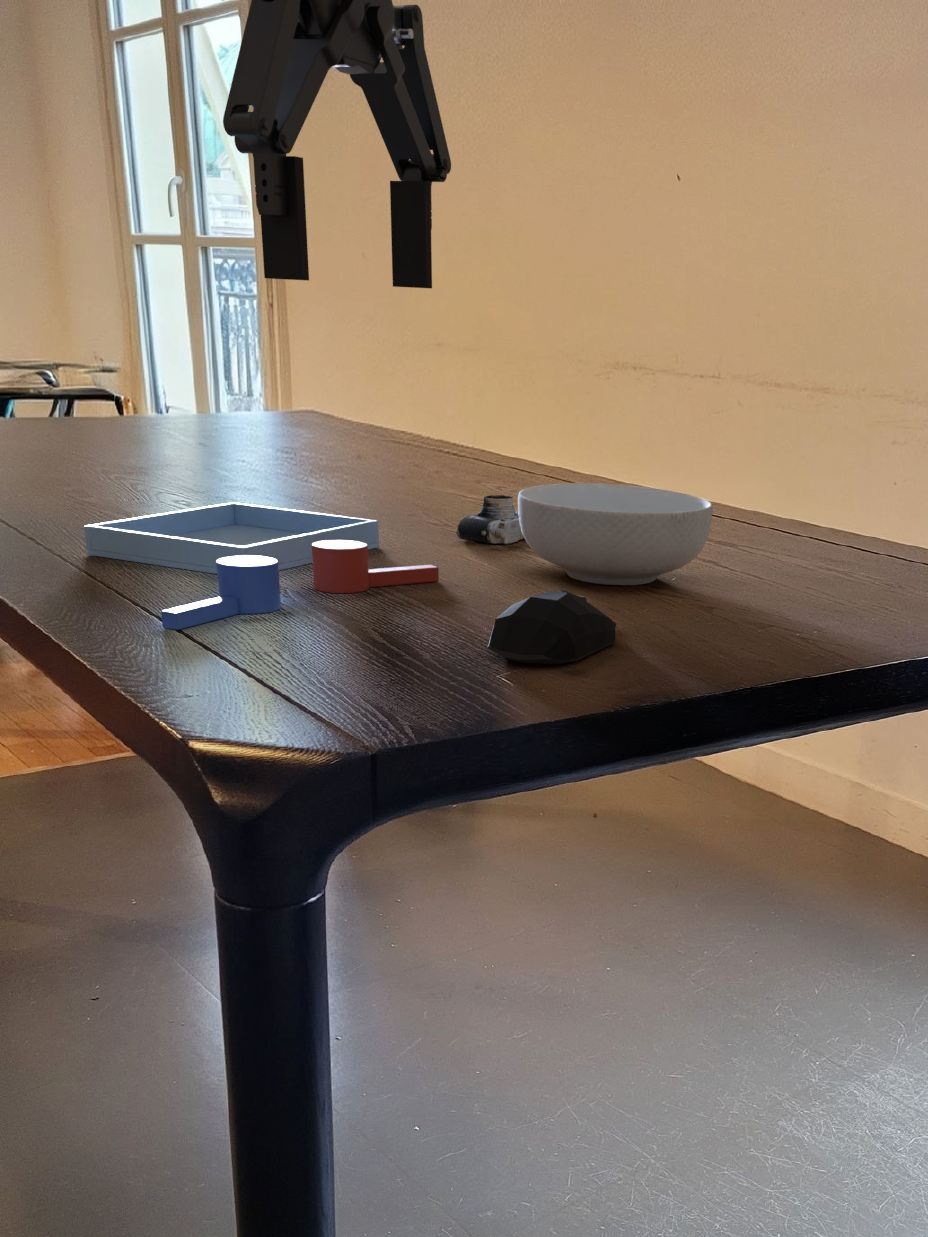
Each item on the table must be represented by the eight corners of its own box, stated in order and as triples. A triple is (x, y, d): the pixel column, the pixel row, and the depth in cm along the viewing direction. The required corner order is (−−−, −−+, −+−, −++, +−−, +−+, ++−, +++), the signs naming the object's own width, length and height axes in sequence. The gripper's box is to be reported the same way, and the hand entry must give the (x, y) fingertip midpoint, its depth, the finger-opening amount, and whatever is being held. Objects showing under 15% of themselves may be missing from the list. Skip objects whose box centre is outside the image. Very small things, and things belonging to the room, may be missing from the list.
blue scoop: (246, 599, 100) (243, 553, 99) (293, 606, 98) (290, 559, 97) (145, 624, 91) (140, 574, 89) (195, 633, 89) (190, 582, 88)
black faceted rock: (651, 632, 96) (654, 578, 94) (551, 675, 84) (552, 613, 82) (577, 620, 98) (578, 567, 97) (469, 660, 86) (469, 600, 84)
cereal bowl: (551, 599, 105) (552, 510, 102) (494, 562, 119) (494, 482, 116) (739, 593, 111) (745, 508, 108) (664, 558, 125) (668, 482, 122)
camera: (551, 534, 135) (552, 493, 133) (495, 547, 126) (496, 503, 124) (511, 528, 137) (511, 487, 135) (453, 541, 128) (452, 497, 127)
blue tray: (87, 554, 113) (83, 525, 112) (234, 527, 129) (232, 502, 128) (245, 578, 107) (243, 547, 106) (379, 547, 123) (378, 520, 122)
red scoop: (327, 595, 103) (325, 550, 101) (305, 584, 106) (302, 541, 104) (447, 584, 109) (447, 542, 107) (423, 575, 112) (422, 534, 110)
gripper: (248, -198, 63) (276, 277, 72) (501, -63, 84) (500, 292, 93) (130, -185, 66) (170, 272, 74) (404, -57, 87) (411, 288, 95)
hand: (353, 284), depth 84 cm, fingers open, 13 cm apart
